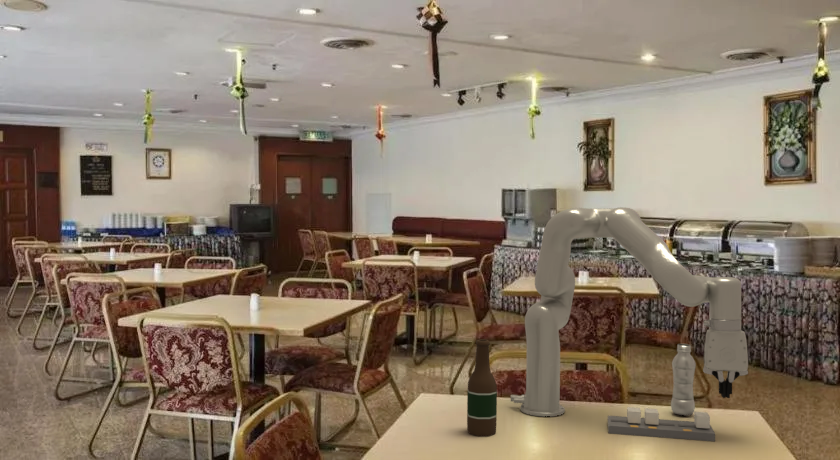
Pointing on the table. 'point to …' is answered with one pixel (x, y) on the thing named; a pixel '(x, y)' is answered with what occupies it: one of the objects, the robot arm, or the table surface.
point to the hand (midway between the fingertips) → (725, 396)
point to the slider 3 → (702, 420)
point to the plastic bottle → (683, 381)
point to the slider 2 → (651, 416)
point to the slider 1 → (633, 415)
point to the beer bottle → (482, 394)
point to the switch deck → (660, 429)
